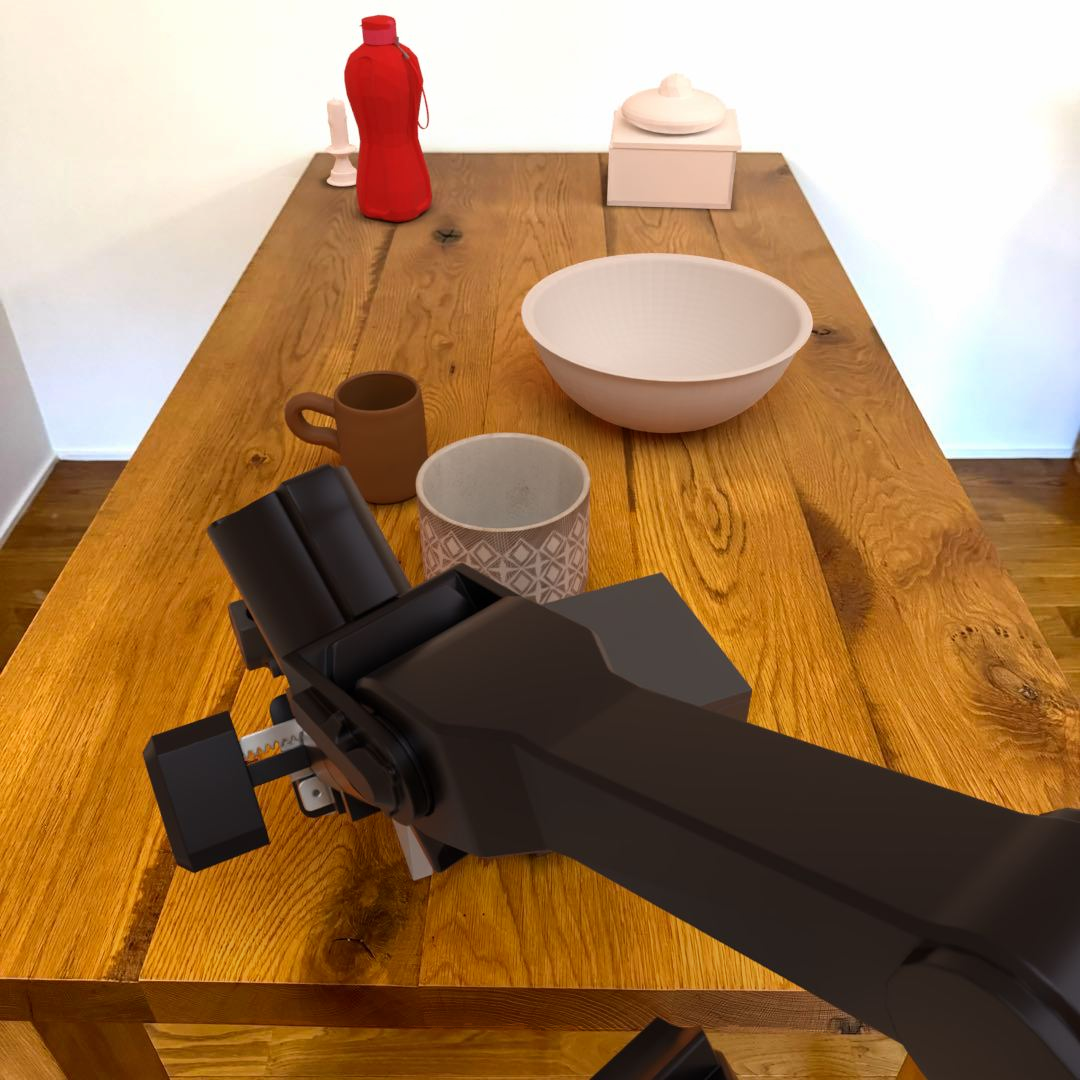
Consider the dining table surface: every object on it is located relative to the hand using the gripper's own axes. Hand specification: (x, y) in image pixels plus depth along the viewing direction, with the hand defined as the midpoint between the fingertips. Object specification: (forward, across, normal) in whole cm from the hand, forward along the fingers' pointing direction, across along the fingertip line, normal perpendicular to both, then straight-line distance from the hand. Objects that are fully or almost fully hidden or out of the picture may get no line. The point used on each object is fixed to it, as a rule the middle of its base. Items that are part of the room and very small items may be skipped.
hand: (339, 734), depth 56 cm
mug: (+33, -13, -19) cm, 40 cm away
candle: (+88, -37, -74) cm, 121 cm away
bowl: (+33, -44, -19) cm, 58 cm away
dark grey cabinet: (+7, -16, +7) cm, 19 cm away
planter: (+20, -18, -5) cm, 28 cm away
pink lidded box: (+71, -79, -56) cm, 120 cm away
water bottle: (+76, -40, -62) cm, 106 cm away
